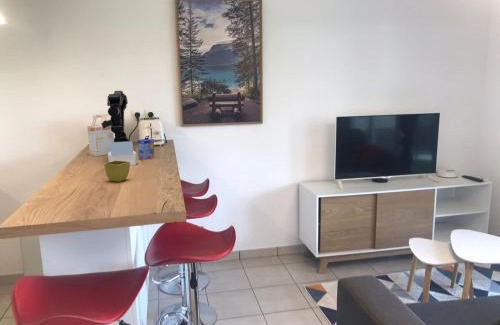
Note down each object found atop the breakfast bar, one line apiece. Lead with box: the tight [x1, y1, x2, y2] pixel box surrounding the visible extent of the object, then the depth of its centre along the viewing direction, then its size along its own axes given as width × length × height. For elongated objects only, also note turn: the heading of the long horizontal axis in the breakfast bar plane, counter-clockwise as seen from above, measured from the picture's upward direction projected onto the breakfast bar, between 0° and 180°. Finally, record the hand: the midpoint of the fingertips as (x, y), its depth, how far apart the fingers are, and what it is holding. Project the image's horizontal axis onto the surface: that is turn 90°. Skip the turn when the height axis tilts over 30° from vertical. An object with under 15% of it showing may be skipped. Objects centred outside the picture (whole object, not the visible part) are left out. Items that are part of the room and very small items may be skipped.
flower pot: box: [103, 161, 131, 183], centre depth 197 cm, size 9×9×9 cm
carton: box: [107, 150, 138, 166], centre depth 239 cm, size 13×15×6 cm
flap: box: [110, 140, 134, 155], centre depth 232 cm, size 1×12×7 cm, turn 108°
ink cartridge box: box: [137, 135, 155, 161], centre depth 254 cm, size 10×6×14 cm, turn 158°
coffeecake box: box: [86, 124, 115, 158], centre depth 270 cm, size 15×7×20 cm, turn 144°
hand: (117, 141), depth 247 cm, fingers open, 3 cm apart
